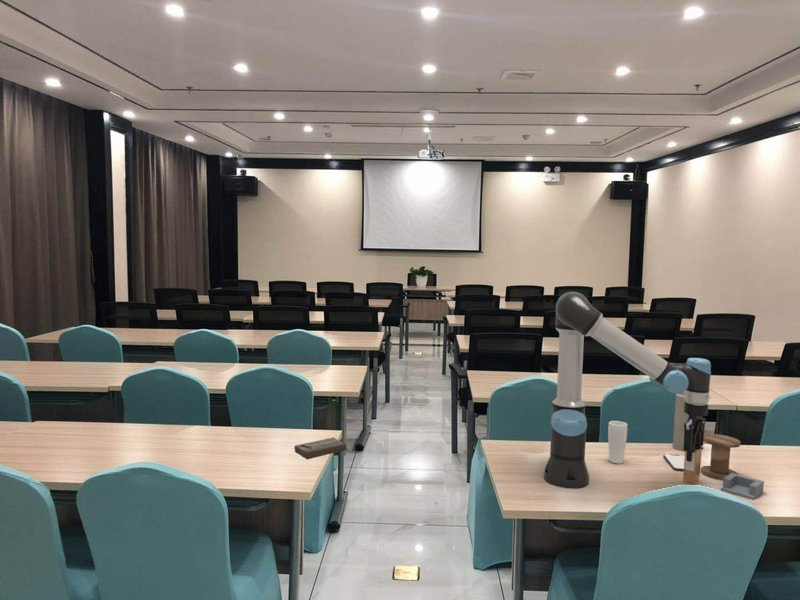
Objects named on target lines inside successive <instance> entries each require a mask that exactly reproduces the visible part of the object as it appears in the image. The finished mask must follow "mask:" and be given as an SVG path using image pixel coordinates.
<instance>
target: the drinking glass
mask: <svg viewBox="0 0 800 600" xmlns="http://www.w3.org/2000/svg"><path fill="white" fill-rule="evenodd" d="M607 431H608V432H607V433H608V434H607V437H608V439H607V441H608V461H609V462H610V463H612V464H617V465H619V464H620V465H621V464H623V463H624V461H625V459H624V457H625V451H626V443H627V438H628V437H627V436H628V423H627V422H624V421H620V420H611V421H609V422H608V430H607Z"/></svg>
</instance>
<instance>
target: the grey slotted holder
mask: <svg viewBox="0 0 800 600" xmlns="http://www.w3.org/2000/svg"><path fill="white" fill-rule="evenodd" d="M764 486H765V481H764V480H761V479H757V478H754V477H750V476H745V475H742V474H734V473H731V474H729V475H728V476H726V477H725V478H724V479H723V480H722V487H720V492H721V491H722V492H724V493H728V494H731V495H735V496H738V497H742V498H746V499H750V500H755V499H757V497H759V496H760V495H761V494H763V493H764V488H765V487H764Z"/></svg>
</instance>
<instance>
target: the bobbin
mask: <svg viewBox="0 0 800 600" xmlns="http://www.w3.org/2000/svg"><path fill="white" fill-rule="evenodd" d="M703 443H705V444H708V445H711V450H710V462H709V463H710V465H703V466H700V474H702V475H703V476H705V477H707V478H710V479H712V480H713V479H714V480H717V481H718V480H719V481H723V479H724V478H725V477H726V476H728V475H729V474H731V473H734V474H738V472H737V471H735V470H734V469H733V470H732V469H730V458H731V448H732V449H733V448H740V446H741V441H740V439H738V438H737V437H733V436H730V435H729V436H728V435H724V434H716V433H712V434H711V433H709V434H704V442H703ZM738 475H739V474H738Z"/></svg>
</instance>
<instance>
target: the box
mask: <svg viewBox="0 0 800 600" xmlns="http://www.w3.org/2000/svg"><path fill="white" fill-rule="evenodd" d="M347 450H348V449H347V444H346V443H345V442H343V441H340V440H339V439H337V438H335V437H331V438H325V439H320V440H316V441H310V442H305V443H300V444H296V445H294V452H295V453H296V454H298V455H299V456H301V457H302V458H304V459H305V460H310V459H315V458H318V457H324V456H327V455H332V454H335V453H339V452H344V451H347Z"/></svg>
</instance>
